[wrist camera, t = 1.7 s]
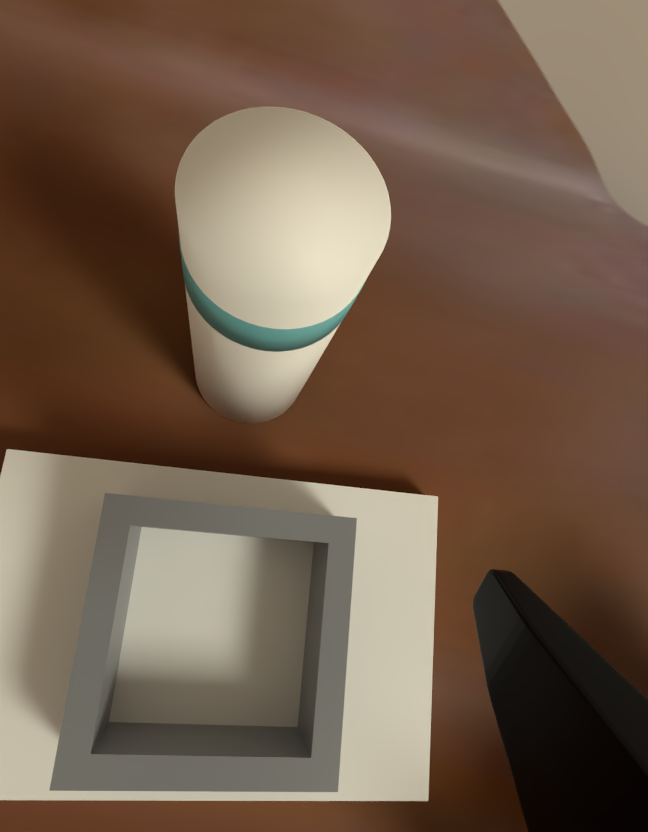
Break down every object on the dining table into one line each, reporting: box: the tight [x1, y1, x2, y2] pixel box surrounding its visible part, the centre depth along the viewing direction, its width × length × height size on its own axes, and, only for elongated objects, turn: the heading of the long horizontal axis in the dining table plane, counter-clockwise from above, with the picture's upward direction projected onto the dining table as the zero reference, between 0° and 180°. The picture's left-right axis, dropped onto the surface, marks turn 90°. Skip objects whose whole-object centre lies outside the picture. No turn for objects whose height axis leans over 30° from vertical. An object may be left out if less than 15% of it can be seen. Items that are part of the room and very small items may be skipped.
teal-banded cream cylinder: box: [175, 107, 391, 424], centre depth 18 cm, size 5×5×13 cm
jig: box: [0, 449, 438, 801], centre depth 20 cm, size 12×18×4 cm, turn 85°
